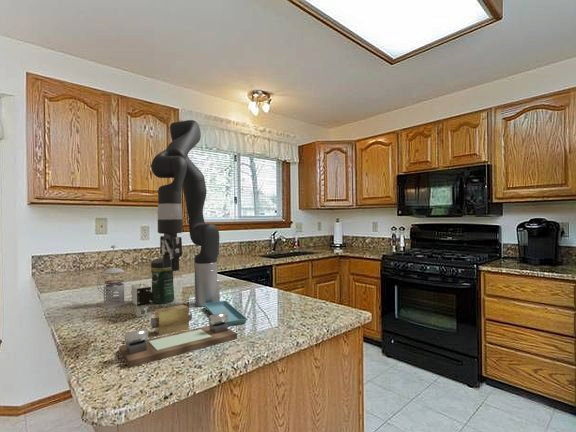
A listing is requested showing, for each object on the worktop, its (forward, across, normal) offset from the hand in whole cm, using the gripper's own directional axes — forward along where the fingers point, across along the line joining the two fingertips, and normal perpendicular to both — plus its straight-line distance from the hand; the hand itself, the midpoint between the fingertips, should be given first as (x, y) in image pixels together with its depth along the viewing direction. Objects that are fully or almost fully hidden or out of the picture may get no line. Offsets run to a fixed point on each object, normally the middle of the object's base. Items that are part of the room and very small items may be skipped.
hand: (170, 269), depth 104 cm
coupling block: (+20, 0, 0) cm, 20 cm away
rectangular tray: (+20, +4, -20) cm, 29 cm away
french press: (+20, +50, +9) cm, 54 cm away
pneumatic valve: (+20, +24, +3) cm, 31 cm away
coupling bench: (+19, -14, +2) cm, 24 cm away
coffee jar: (+20, +40, -9) cm, 45 cm away
